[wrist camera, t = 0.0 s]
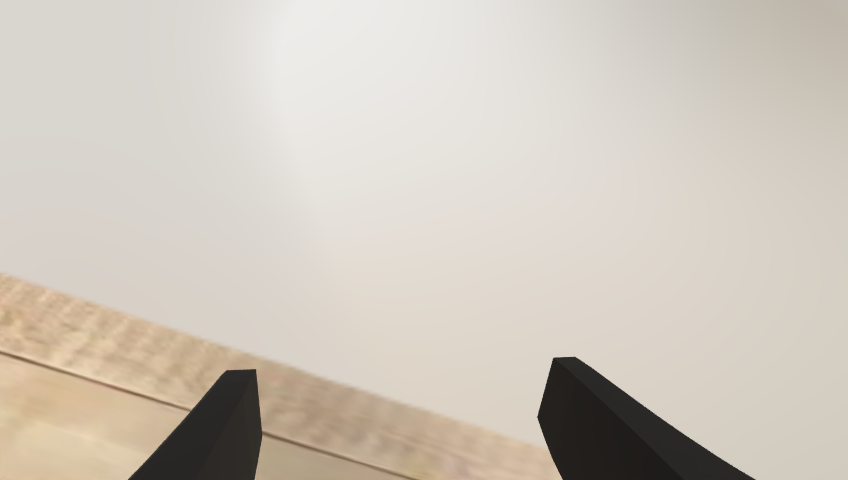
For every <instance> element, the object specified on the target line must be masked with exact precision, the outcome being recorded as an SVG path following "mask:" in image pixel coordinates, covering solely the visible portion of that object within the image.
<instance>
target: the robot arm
mask: <svg viewBox="0 0 848 480" xmlns="http://www.w3.org/2000/svg"><path fill="white" fill-rule="evenodd" d="M537 418H538V421H539V424H540V426H541V429H542V432H543V435H544V438H545V441H546V443H547V446H548V449H549V451H550V454H551V456H552V459H553V461H554V463H555V465H556V467H557V469H558V471H559V473H560V475H561V477H562V479H563V480H755V479H753V478H752V477H750V476H749V475H747V474H745V473H743V472H742V471H740V470H738V469H737V468H735V467H733V466H732V465H730V464H728V463H727V462H725V461H724V460H722V459H721V458H719V457H717V456H716V455H714V454H713V453H711V452H710V451H708V450H707V449H705V448H704V447H702V446H701V445H699V444H698V443H696V442H695V441H693V440H692V439H690V438H689V437H687V436H686V435H684V434H683V433H681V432H680V431H678V430H677V429H675V428H674V427H673V426H671V425H670V424H668V423H667V422H665V421H664V420H663V419H661V418H660V417H658V416H657V415H655V414H654V413H653V412H651V411H650V410H648V409H647V408H646V407H644V406H643V405H642V404H640V403H639V402H637V401H636V400H635V399H633V398H632V397H631V396H629V395H628V394H627V393H625V392H624V391H622V390H621V389H620V388H618V387H617V386H616V385H614V384H613V383H611V382H610V381H609V380H608V379H606V378H605V377H603V376H602V375H601V374H599V373H598V372H597V371H595V370H594V369H592V368H591V367H590V366H588V365H587V364H585V363H584V362H582V361H581V360H579V359H578V358H576V357H560V358H553V361H552V365H551V368H550V372H549V376H548V379H547V383H546V387H545V390H544V394H543V398H542V402H541V405H540V409H539V413H538V416H537ZM261 440H262V428H261V418H260V407H259V396H258V386H257V375H256V369H250V370H227V371H226V372H224V373H223V374H222V375H221V376H220V377H219V379H218V380H217V381H216V382H215V383H214V385H213V386H212V387H211V388H210V389H209V391H208V392H207V393H206V394H205V395H204V397H203V398H202V399H201V400H200V401H199V402H198V404H197V405H196V406H195V407H194V408H193V409H192V411H191V412H190V413H189V414H188V415H187V416H186V418H185V419H184V420H183V421H182V422H181V423H180V424H179V425H178V427H177V428H176V429H175V430H174V431H173V432H172V433H171V434H170V435H169V436H168V438H167V439H166V440H165V441H164V442H163V443H162V444H161V445H160V446H159V447H158V449H157V450H156V451H155V452H154V453H153V454H152V455H151V456H150V457H149V458H148V459H147V460H146V461H145V463H144V464H143V465H142V466H141V467H140V468H139V469H138V470H137V471H136V472H135V473H134V474H133V475H132V476H131V477H130V478H129V479H128V480H254V479H255V473H256V468H257V463H258V457H259V452H260V446H261Z"/></svg>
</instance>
